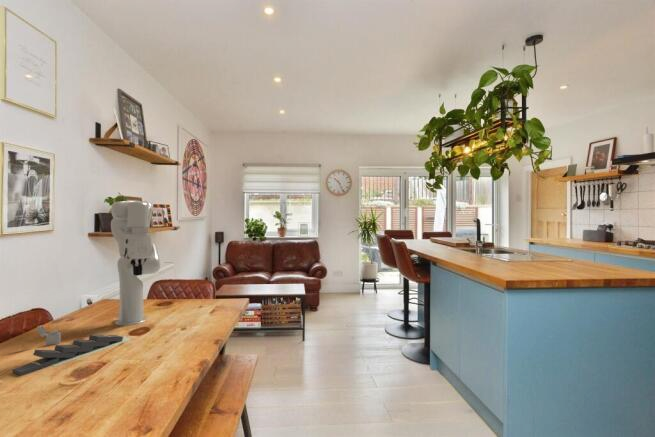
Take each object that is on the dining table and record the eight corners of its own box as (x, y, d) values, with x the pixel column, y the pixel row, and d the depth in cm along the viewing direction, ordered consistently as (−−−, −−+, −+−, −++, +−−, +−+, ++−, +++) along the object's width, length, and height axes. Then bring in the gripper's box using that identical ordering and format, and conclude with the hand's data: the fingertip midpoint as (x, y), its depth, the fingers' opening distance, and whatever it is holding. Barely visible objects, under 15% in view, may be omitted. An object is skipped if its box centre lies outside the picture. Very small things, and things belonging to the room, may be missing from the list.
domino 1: (58, 362, 110) (21, 377, 101) (50, 359, 112) (12, 374, 103) (58, 357, 110) (21, 372, 101) (49, 355, 112) (12, 369, 103)
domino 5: (122, 341, 130) (96, 341, 121) (113, 339, 132) (88, 339, 123) (123, 336, 130) (98, 336, 122) (115, 334, 132) (89, 334, 124)
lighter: (60, 343, 129) (60, 322, 129) (59, 344, 127) (59, 324, 127) (37, 346, 126) (37, 325, 126) (35, 347, 124) (36, 326, 124)
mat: (37, 362, 112) (37, 360, 112) (116, 336, 136) (116, 335, 136) (54, 367, 108) (54, 366, 108) (132, 340, 132) (132, 338, 132)
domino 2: (73, 357, 114) (41, 357, 106) (65, 355, 116) (32, 355, 108) (75, 352, 115) (43, 352, 106) (67, 350, 117) (35, 349, 109)
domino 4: (108, 346, 125) (80, 347, 116) (99, 343, 127) (72, 344, 118) (109, 341, 126) (82, 342, 117) (101, 339, 128) (73, 339, 119)
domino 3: (92, 351, 120) (62, 352, 111) (84, 349, 122) (54, 350, 113) (94, 346, 120) (64, 347, 112) (85, 344, 122) (55, 345, 114)
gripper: (126, 232, 130) (126, 278, 130) (159, 230, 144) (159, 273, 144) (114, 231, 133) (114, 277, 133) (147, 230, 147) (147, 271, 147)
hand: (137, 274), depth 139 cm, fingers closed
